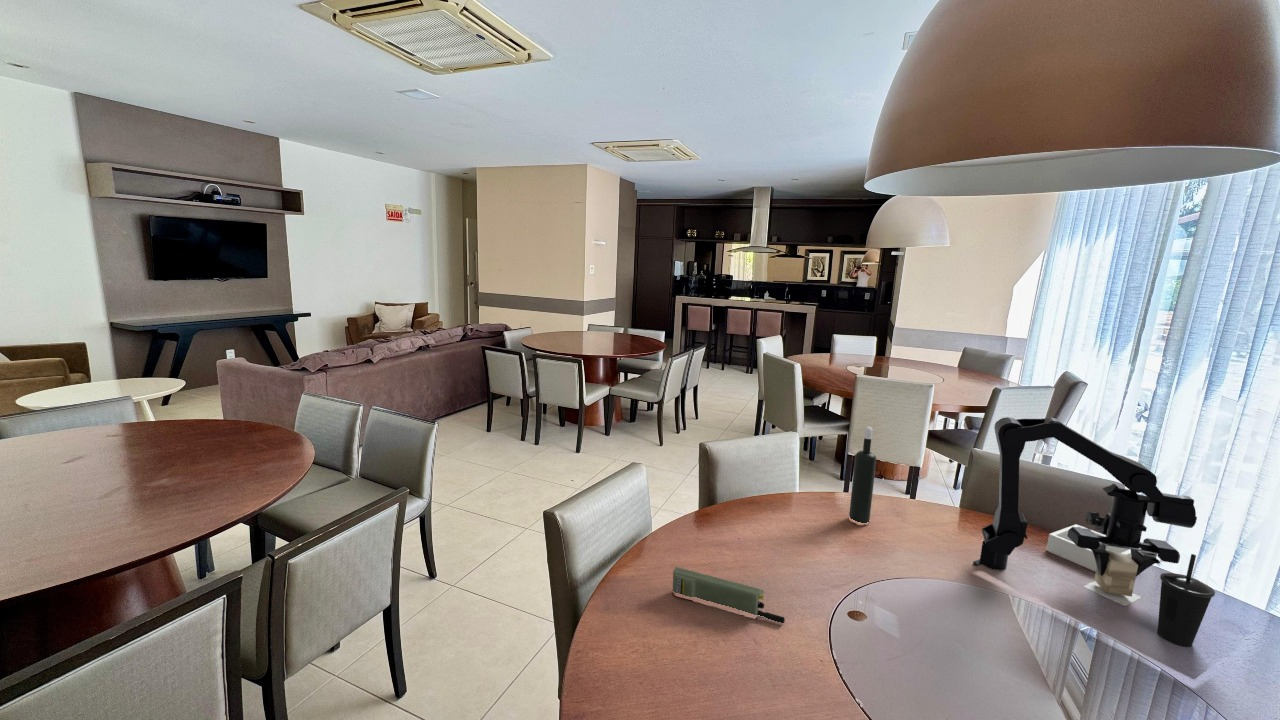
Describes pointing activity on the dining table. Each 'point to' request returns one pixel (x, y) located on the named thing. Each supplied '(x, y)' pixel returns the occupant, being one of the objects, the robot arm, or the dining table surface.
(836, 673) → the dining table surface
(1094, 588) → the stud plate
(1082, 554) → the white bin
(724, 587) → the handheld radio
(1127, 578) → the wooden post
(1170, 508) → the robot arm
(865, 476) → the wine bottle
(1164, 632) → the drinking cup
